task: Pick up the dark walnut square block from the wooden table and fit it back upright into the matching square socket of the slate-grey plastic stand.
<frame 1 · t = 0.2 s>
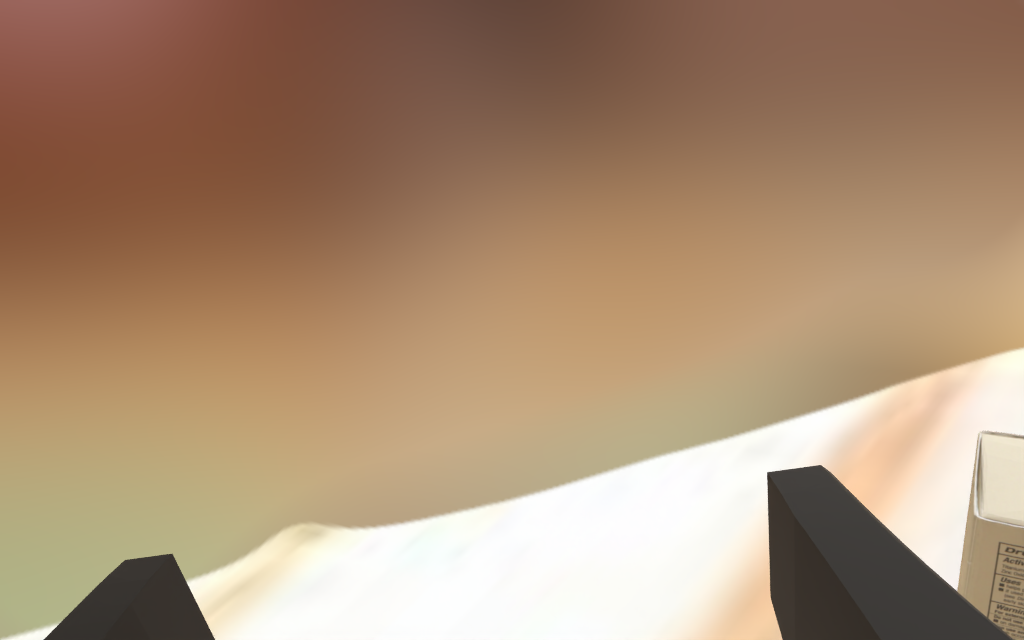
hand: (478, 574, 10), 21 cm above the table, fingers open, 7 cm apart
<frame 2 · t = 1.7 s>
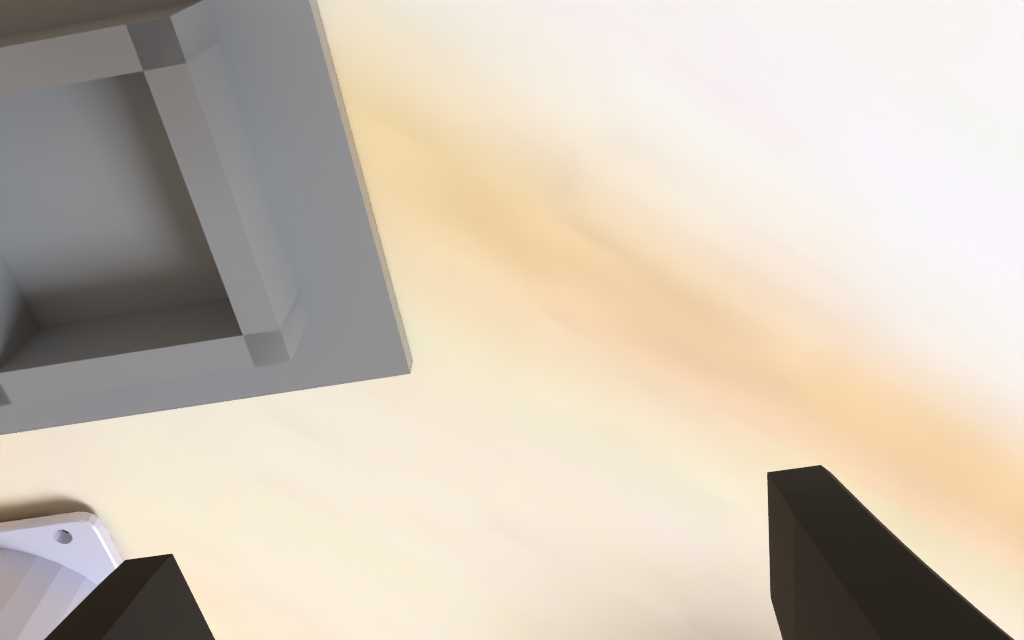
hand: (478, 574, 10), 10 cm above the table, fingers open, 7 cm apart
stand: (115, 189, 19), on the table
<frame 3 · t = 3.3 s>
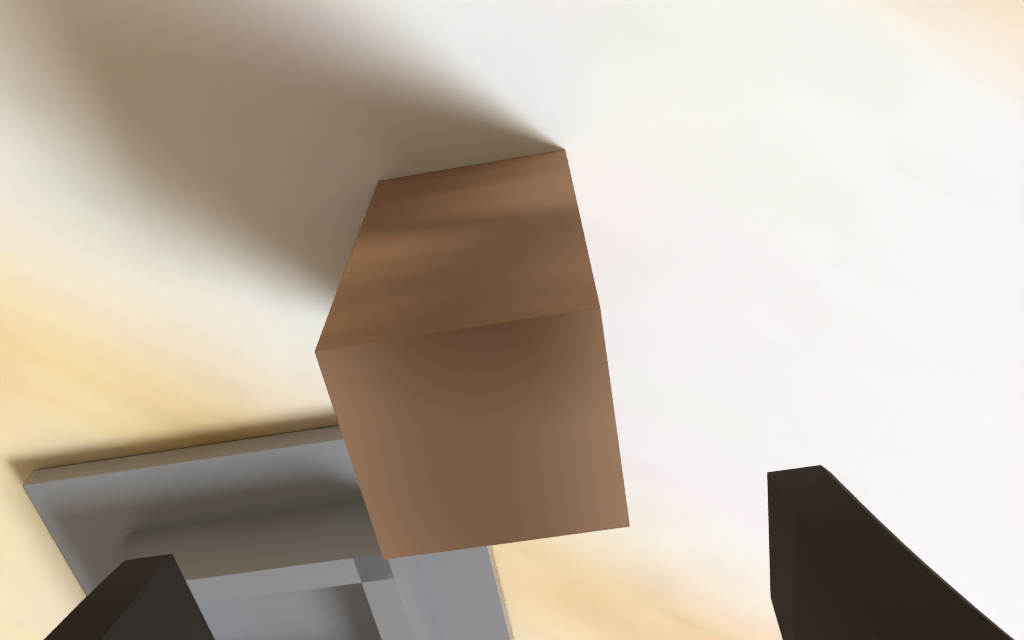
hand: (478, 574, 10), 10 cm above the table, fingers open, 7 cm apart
stand: (304, 594, 24), on the table
walnut block: (488, 251, 19), on the table
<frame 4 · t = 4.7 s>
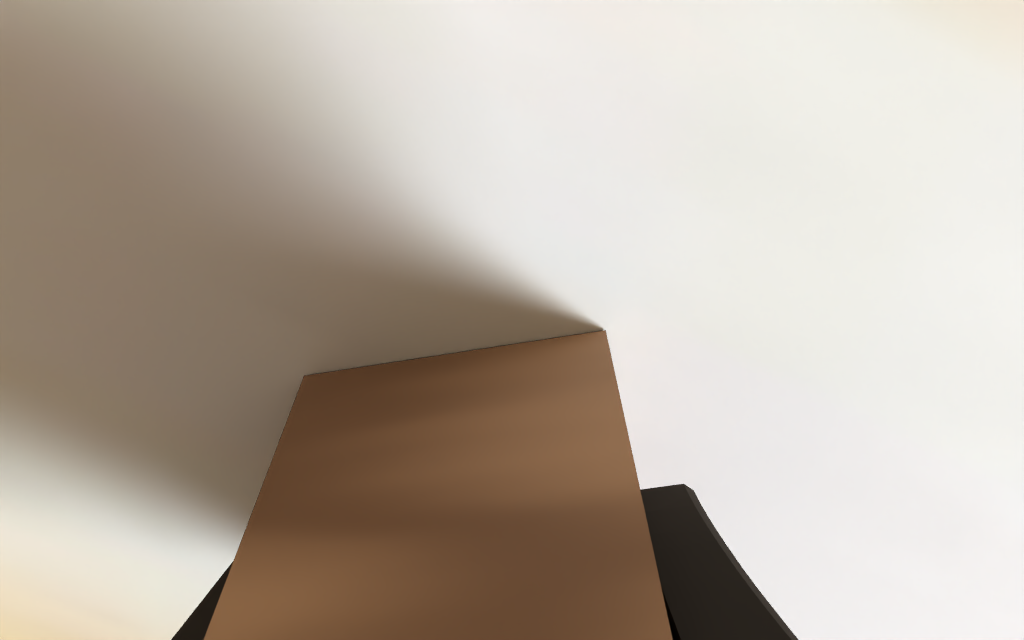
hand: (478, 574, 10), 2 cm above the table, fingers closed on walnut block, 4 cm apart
walnut block: (481, 472, 12), on the table, touching gripper
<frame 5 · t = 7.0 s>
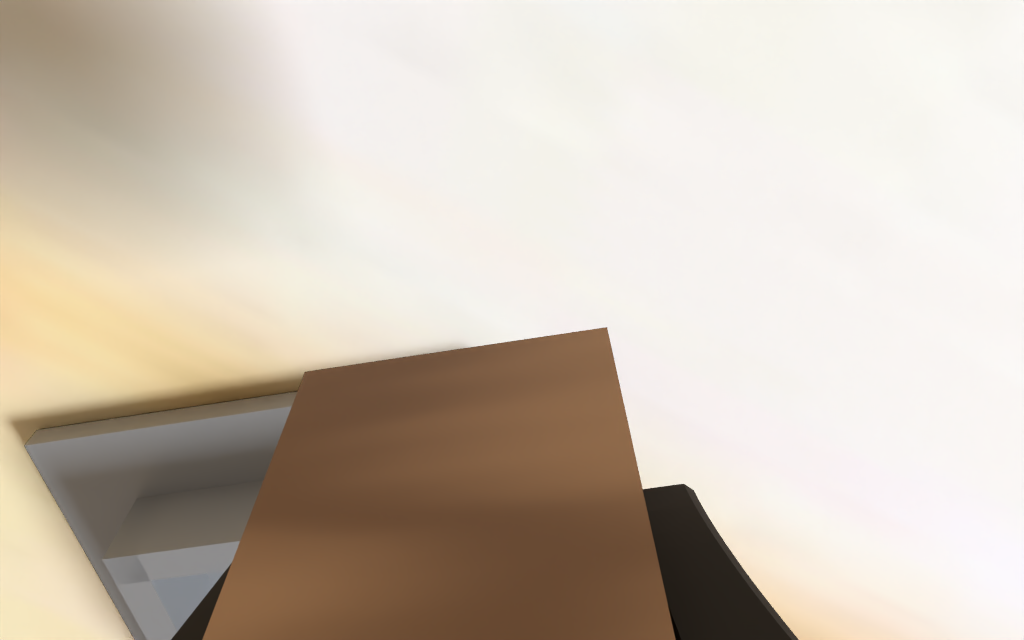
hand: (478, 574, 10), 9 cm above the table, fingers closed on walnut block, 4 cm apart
stand: (325, 566, 22), on the table
walnut block: (481, 469, 12), point 7 cm above the table, touching gripper
when the fingers open (4 cm above the table, at t = 9.3 s): walnut block drops 1 cm, resting on stand.
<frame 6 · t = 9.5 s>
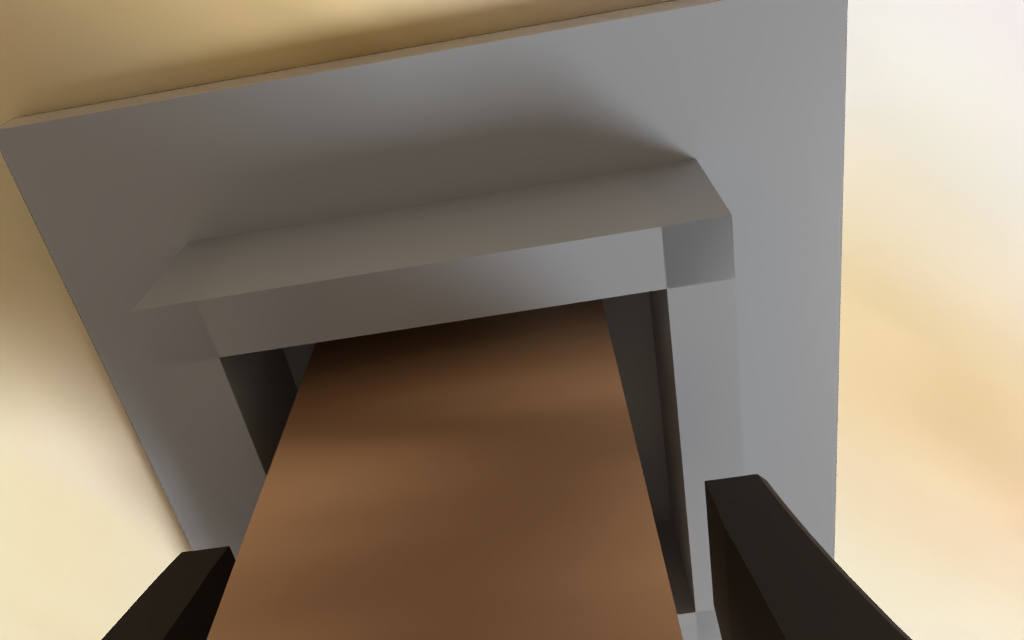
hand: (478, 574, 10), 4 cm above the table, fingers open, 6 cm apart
stand: (484, 390, 14), on the table
walnut block: (483, 409, 13), point 1 cm above the table, touching stand
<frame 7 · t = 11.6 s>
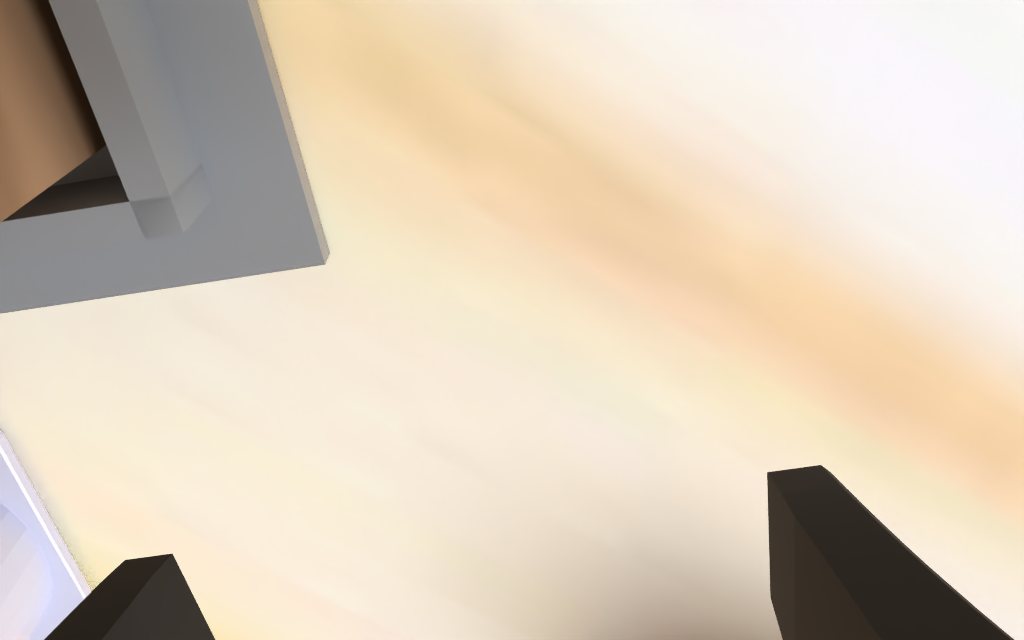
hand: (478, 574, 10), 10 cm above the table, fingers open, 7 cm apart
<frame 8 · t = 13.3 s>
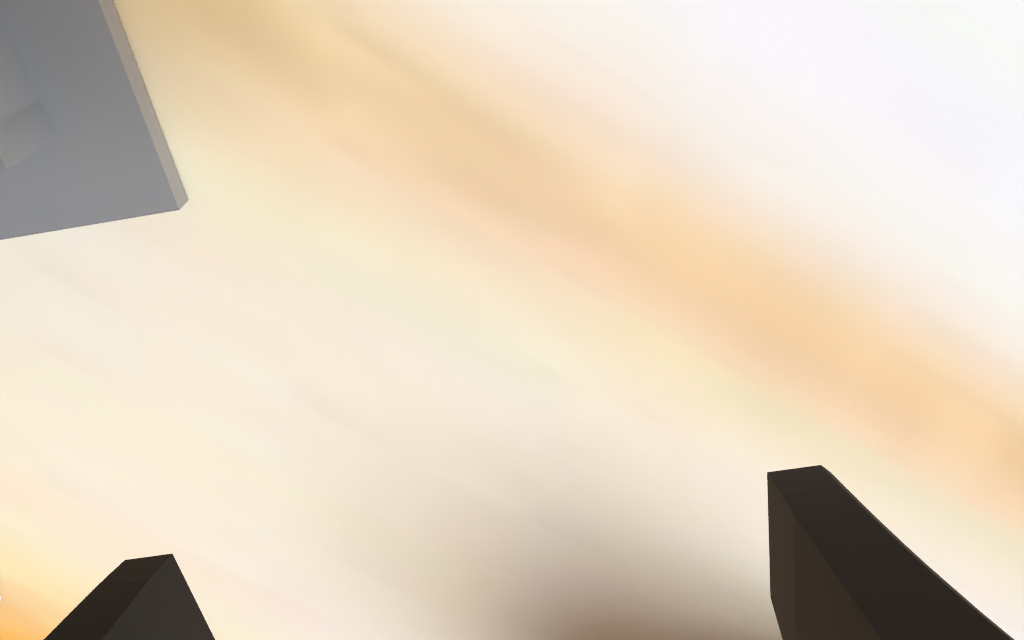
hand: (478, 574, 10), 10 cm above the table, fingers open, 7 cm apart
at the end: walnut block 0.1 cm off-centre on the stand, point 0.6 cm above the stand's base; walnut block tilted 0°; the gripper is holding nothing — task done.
